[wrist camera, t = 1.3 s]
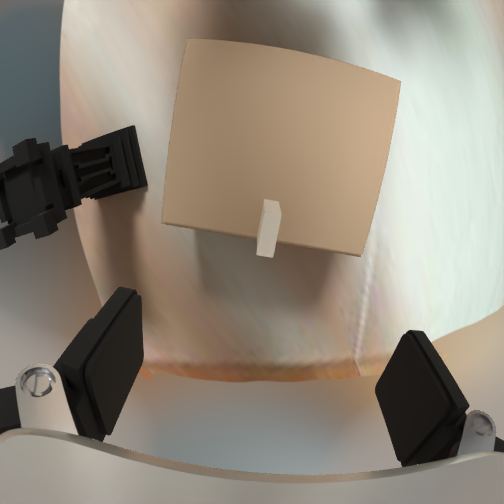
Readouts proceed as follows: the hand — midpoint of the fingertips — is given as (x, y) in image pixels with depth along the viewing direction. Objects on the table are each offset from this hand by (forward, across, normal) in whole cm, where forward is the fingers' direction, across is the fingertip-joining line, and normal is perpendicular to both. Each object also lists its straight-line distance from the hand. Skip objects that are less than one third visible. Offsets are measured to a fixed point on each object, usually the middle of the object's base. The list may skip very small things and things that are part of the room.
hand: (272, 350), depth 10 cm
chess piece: (+29, +20, -1) cm, 35 cm away
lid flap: (+17, 0, -6) cm, 18 cm away
